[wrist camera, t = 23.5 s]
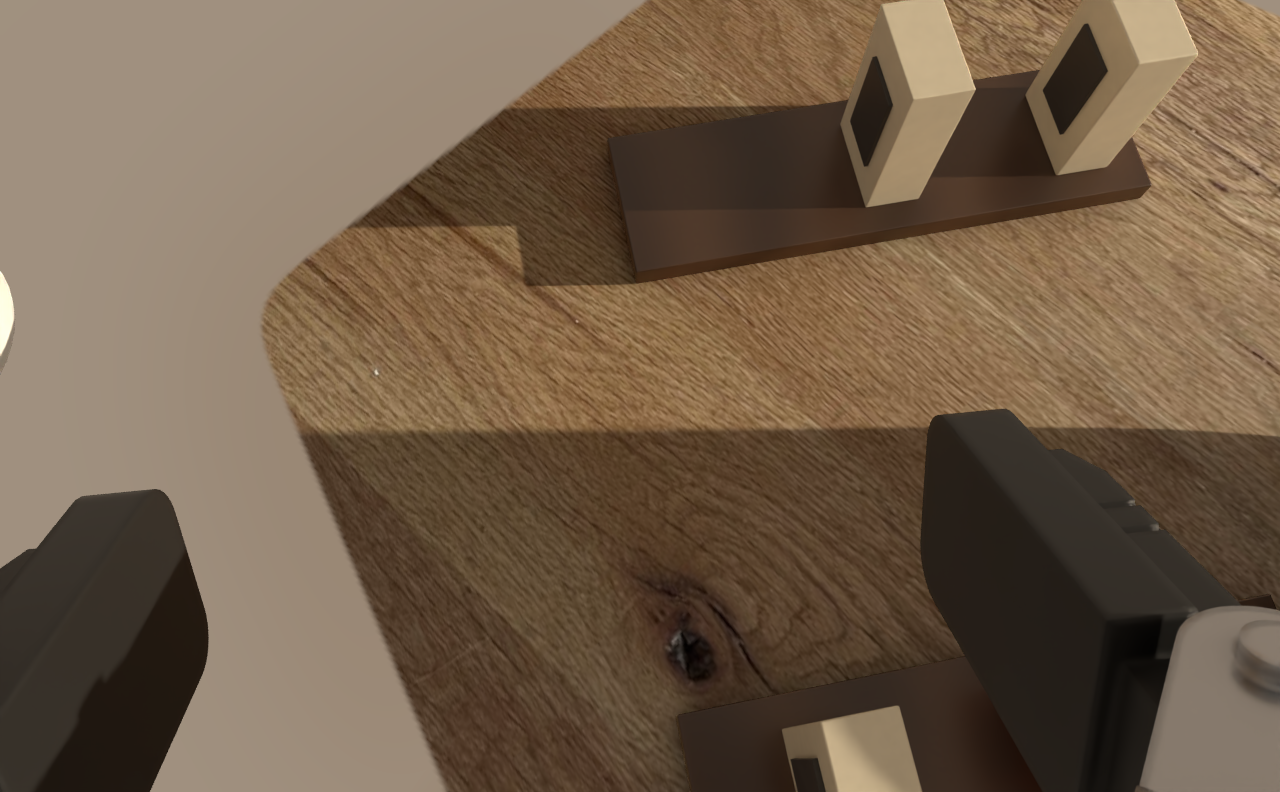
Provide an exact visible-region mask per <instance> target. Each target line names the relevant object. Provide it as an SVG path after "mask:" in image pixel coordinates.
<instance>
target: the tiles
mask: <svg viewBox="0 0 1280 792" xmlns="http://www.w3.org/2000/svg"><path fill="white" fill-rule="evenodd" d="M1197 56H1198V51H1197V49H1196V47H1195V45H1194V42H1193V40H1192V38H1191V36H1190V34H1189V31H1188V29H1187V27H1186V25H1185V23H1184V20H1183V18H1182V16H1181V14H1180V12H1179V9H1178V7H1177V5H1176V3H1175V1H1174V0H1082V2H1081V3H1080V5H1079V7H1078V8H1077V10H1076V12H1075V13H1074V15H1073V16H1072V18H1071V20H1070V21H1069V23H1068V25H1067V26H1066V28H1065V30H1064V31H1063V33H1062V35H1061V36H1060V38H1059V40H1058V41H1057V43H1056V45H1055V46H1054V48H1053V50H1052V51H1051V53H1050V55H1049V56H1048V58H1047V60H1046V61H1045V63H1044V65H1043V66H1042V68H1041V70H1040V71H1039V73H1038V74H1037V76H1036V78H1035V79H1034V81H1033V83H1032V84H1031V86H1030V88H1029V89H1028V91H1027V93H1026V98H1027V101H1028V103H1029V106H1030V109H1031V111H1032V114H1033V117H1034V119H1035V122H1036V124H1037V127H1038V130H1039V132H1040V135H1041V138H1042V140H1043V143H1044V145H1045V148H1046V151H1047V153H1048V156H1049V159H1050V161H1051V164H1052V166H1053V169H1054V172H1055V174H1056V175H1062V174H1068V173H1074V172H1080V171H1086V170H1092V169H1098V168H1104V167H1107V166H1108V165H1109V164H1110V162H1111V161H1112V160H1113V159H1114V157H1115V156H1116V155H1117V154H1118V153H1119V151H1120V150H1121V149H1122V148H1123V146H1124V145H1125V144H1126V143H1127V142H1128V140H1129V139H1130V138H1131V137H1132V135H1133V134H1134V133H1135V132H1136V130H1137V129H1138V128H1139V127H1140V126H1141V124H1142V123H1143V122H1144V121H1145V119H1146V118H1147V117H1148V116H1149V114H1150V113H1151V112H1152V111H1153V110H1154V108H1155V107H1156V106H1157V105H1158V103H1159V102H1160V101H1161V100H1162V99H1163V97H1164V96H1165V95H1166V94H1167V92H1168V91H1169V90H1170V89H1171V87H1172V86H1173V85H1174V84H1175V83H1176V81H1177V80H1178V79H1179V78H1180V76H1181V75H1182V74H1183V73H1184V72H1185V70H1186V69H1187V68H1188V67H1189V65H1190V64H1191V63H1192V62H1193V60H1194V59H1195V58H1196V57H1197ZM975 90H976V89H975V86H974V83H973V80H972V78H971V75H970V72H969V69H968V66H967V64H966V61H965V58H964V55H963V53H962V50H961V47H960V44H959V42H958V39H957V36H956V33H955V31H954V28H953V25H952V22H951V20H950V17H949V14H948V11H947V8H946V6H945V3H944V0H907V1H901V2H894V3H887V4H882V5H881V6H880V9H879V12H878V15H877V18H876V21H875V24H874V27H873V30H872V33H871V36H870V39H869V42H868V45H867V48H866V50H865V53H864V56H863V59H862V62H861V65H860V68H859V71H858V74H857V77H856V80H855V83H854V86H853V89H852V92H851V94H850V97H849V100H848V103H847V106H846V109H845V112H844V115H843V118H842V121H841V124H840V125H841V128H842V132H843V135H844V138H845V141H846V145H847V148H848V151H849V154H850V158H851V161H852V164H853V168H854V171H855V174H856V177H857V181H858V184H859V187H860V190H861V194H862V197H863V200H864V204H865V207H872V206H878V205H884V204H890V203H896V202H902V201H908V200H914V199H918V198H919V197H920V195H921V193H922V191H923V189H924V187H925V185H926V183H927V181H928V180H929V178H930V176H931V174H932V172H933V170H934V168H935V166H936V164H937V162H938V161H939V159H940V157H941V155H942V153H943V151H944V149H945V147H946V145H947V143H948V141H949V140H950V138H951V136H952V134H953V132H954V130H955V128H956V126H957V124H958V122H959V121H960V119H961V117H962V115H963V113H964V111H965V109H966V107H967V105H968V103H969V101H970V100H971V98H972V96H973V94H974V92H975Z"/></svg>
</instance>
